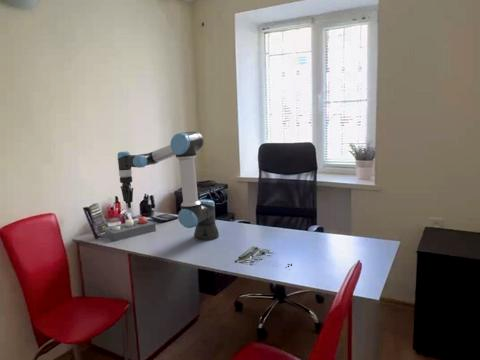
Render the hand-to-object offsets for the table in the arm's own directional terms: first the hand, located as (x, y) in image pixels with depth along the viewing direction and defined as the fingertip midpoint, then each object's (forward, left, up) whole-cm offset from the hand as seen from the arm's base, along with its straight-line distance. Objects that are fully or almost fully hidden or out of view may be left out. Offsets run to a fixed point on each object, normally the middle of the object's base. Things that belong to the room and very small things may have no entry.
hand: (129, 212), depth 240 cm
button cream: (0, 0, -10) cm, 10 cm away
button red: (0, -9, -10) cm, 13 cm away
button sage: (0, +9, -12) cm, 15 cm away
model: (-95, -31, -15) cm, 101 cm away
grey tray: (0, 0, -14) cm, 14 cm away
